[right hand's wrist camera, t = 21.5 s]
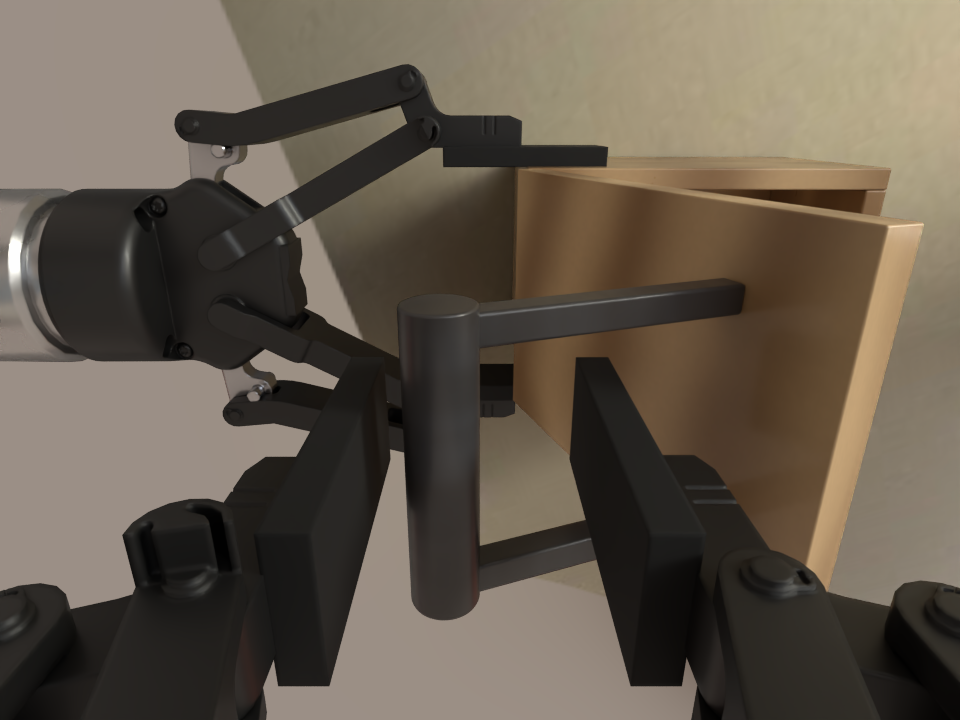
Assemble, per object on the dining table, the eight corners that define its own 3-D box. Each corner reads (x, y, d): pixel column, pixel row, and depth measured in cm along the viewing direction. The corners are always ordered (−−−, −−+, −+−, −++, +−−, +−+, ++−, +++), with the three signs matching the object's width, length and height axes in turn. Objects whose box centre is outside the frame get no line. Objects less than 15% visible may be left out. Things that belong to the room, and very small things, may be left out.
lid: (926, 222, 10) (452, 258, 7) (812, 652, 14) (460, 788, 11) (539, 168, 23) (312, 174, 20) (531, 397, 26) (336, 429, 24)
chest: (784, 157, 31) (892, 168, 23) (754, 331, 35) (839, 394, 27) (515, 156, 31) (527, 167, 23) (511, 330, 35) (521, 394, 27)
